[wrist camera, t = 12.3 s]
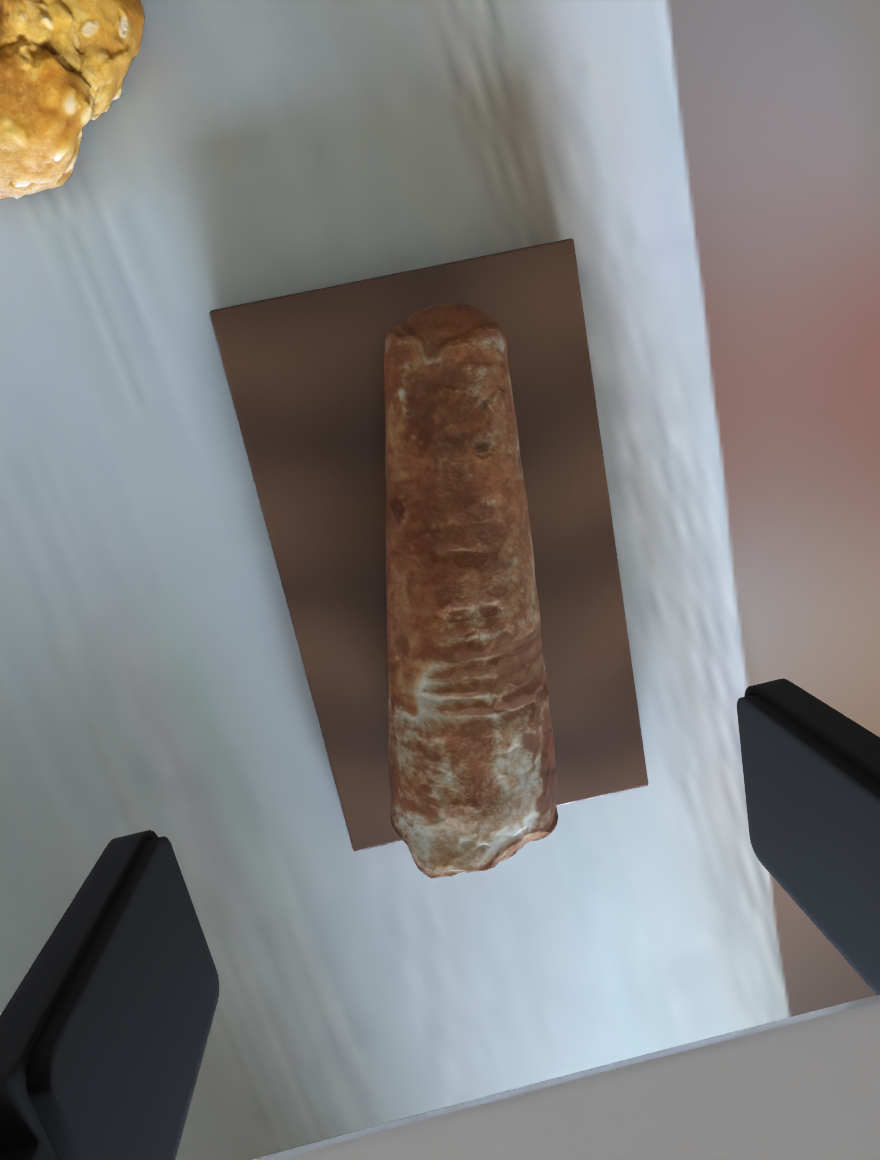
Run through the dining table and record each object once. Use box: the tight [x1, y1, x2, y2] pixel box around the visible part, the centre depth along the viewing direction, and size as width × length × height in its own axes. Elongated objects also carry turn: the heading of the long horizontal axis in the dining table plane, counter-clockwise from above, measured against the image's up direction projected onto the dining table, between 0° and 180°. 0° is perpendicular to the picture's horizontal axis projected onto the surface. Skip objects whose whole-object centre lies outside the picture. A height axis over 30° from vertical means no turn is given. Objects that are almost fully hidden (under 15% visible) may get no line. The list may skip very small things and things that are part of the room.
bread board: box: [209, 238, 648, 851], centre depth 26 cm, size 22×13×2 cm, turn 12°
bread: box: [384, 303, 558, 878], centre depth 23 cm, size 6×19×6 cm, turn 2°
